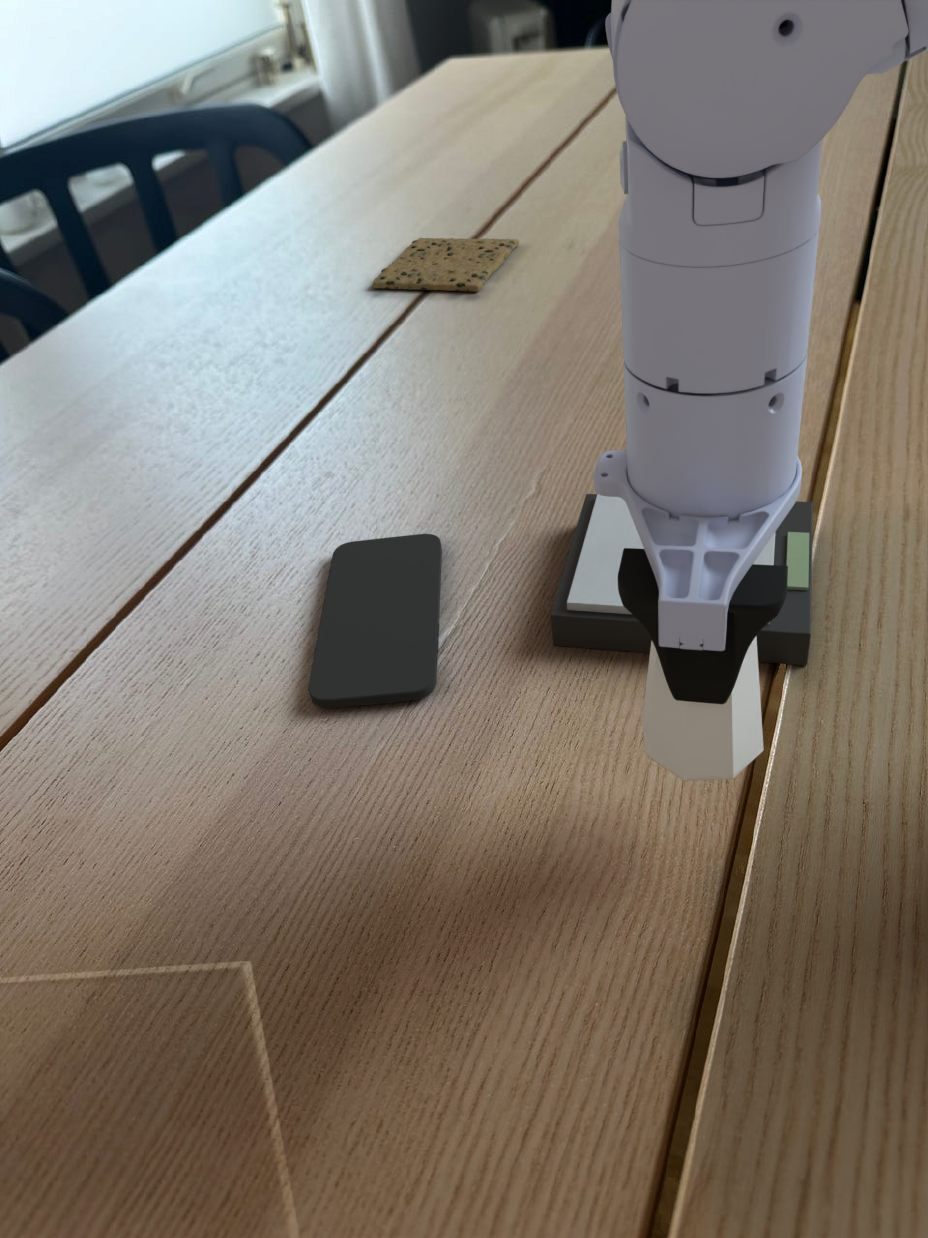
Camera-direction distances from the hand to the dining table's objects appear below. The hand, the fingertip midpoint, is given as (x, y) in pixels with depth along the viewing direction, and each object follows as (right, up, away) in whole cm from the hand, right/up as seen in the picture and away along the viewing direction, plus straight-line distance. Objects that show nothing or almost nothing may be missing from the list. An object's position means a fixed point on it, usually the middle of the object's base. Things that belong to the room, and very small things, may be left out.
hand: (704, 657), depth 40 cm
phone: (-15, +1, +21) cm, 26 cm away
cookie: (-12, +38, +62) cm, 73 cm away
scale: (+4, +3, +19) cm, 20 cm away
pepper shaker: (+1, -4, +3) cm, 5 cm away
